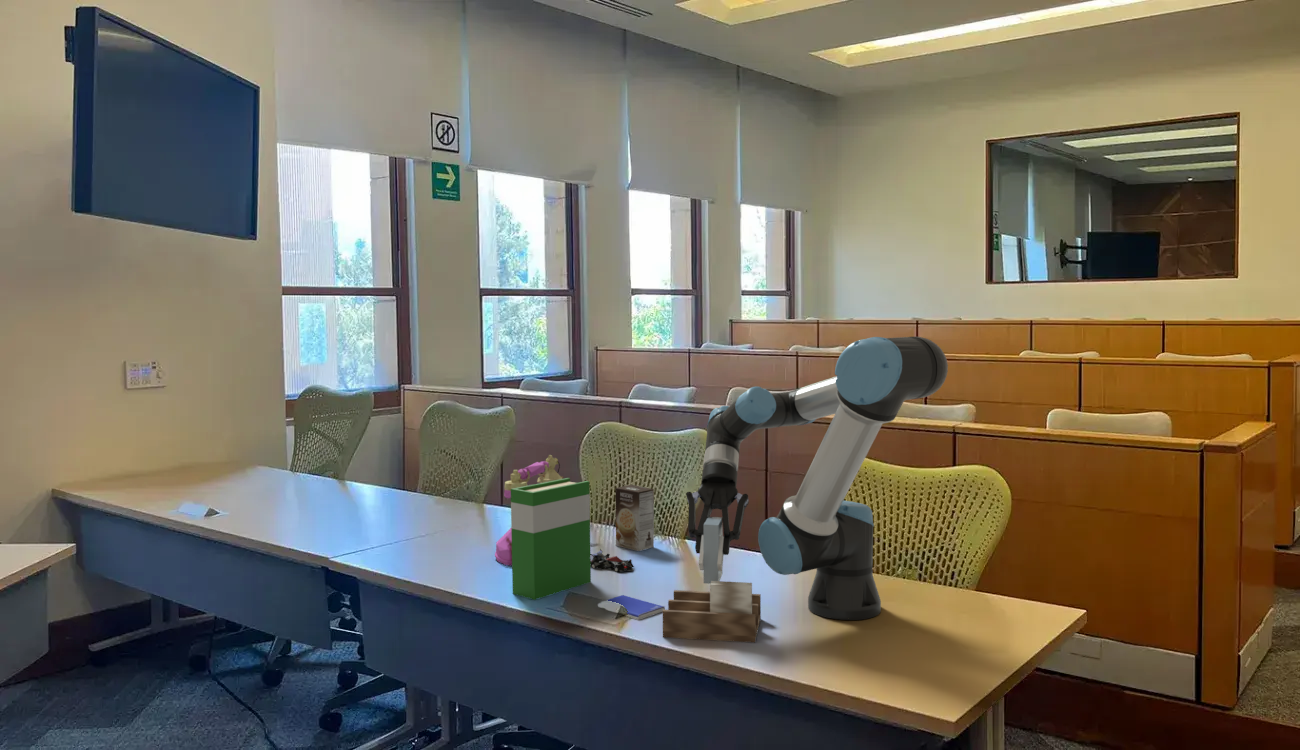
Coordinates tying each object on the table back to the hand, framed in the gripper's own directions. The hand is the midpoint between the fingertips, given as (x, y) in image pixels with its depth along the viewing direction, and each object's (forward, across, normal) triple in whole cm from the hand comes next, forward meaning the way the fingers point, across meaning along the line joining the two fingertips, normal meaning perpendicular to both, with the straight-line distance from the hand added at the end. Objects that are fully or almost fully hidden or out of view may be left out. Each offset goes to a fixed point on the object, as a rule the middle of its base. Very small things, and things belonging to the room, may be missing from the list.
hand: (710, 566), depth 189 cm
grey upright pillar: (-1, 0, -6) cm, 6 cm away
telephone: (-28, +52, -46) cm, 75 cm away
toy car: (-19, +29, -38) cm, 51 cm away
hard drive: (+3, +18, -16) cm, 24 cm away
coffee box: (-34, +28, -53) cm, 69 cm away
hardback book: (-6, +40, -24) cm, 47 cm away
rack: (+9, 0, -9) cm, 12 cm away
